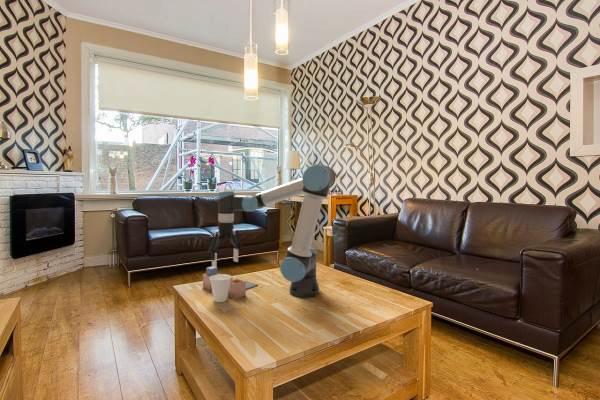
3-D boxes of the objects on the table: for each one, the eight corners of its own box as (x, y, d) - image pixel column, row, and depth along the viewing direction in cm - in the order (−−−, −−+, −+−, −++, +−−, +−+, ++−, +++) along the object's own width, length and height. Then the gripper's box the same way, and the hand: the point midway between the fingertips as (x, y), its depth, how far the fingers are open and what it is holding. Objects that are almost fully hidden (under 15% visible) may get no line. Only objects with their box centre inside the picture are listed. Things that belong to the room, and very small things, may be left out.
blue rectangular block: (212, 281, 170) (212, 266, 169) (217, 282, 167) (217, 267, 167) (206, 282, 167) (206, 267, 166) (211, 284, 164) (211, 269, 164)
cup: (225, 305, 143) (225, 281, 143) (205, 303, 145) (205, 279, 145) (234, 297, 153) (234, 274, 152) (215, 295, 155) (215, 273, 154)
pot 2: (236, 292, 160) (236, 278, 160) (245, 295, 156) (245, 281, 156) (226, 295, 155) (226, 281, 155) (235, 298, 151) (235, 284, 151)
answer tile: (245, 281, 177) (245, 280, 177) (258, 285, 171) (258, 284, 171) (231, 286, 169) (231, 285, 169) (244, 290, 163) (244, 289, 163)
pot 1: (213, 284, 172) (213, 271, 171) (220, 287, 168) (220, 274, 167) (202, 287, 167) (202, 274, 166) (210, 290, 163) (210, 276, 162)
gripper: (239, 219, 170) (239, 258, 172) (200, 223, 151) (199, 267, 152) (249, 220, 166) (248, 260, 167) (209, 224, 146) (209, 270, 147)
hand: (225, 263), depth 159 cm, fingers open, 13 cm apart
